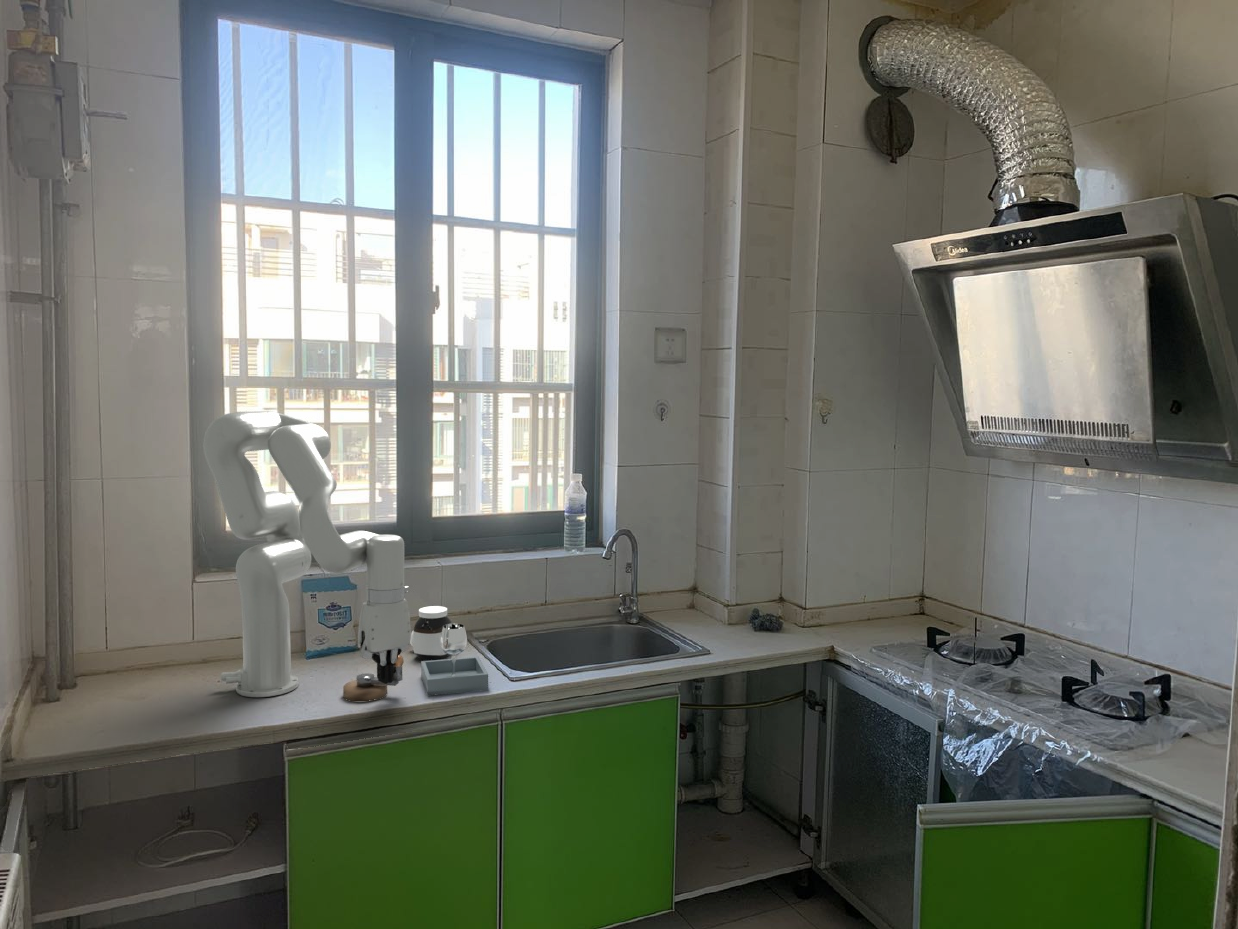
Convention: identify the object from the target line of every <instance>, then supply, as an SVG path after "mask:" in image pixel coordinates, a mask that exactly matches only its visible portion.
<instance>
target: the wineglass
mask: <svg viewBox="0 0 1238 929" xmlns="http://www.w3.org/2000/svg"><path fill="white" fill-rule="evenodd" d="M467 642H468V638H467V632H466V628H465V625H464V624H463V623H452V624H447V625H444V626H443V629H442V633H441V639H440V643H441V648H442V650H443V651H444V652H445V653H447V654H449V655H451V658H450V659H451V660H452V664H453V673H452V675H451V676H458V675H456V674H455V662H456V658H457V657H456V655H459V654H461V653H462V652H464V651H465V649H466V648H467ZM447 677H450V676H447Z"/></svg>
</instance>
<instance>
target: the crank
mask: <svg viewBox="0 0 1238 929" xmlns="http://www.w3.org/2000/svg"><path fill="white" fill-rule="evenodd" d="M404 661H405V660H404V657H403V656H402V655H401V654H400V655H399V656H398V657H397V660H396V662H395V663H394V676H393V682H392V683H388V684H384V683H382V682H380V681H379V680H378V678H377V676H375V675H374V674H372V673H370V672H368V673H361V674H358V675H356V680H357V686H358V687H370V686H373V685H387V686H391V687H392V686H393V687H395V686H397V685H398V684H399V682H401V681H403V665H404Z"/></svg>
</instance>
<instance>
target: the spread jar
mask: <svg viewBox="0 0 1238 929" xmlns="http://www.w3.org/2000/svg"><path fill="white" fill-rule="evenodd" d="M418 616H419V617H418V618H417V619H416V621H415V624H414V626H413V630H412V631H411V639H410V643H409V645H410V646H412V648H413V649H412V650H413V653H414V655H415V656H416V657H417V658H418V659H421V660H423V661H432V660H444V659H446V658H447V657H448V656H449V655H450V654H447V653H445V652H444V651H443V650H442V648H441V643H440V639H441V633H442V629H443V626H444V625H447V624H453V622H452V620H451V618H450V617H449V616H448V607H445V606H441V605H433V606H432V605H430V606H425V607H421V608H419V609H418Z"/></svg>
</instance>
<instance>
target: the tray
mask: <svg viewBox="0 0 1238 929" xmlns="http://www.w3.org/2000/svg"><path fill="white" fill-rule="evenodd" d="M420 665H421V666H420V668H421V669H420V672H421V675H420V676H421V680H422V683H423V687H424V689H425V692H426V695H431V696H436V695H435V694H441V695H446V694H445V693H451V694H461V693H468V692H469V693H470V692H481V691H480V690H482V691H488V690H489V673H488V671H487V669H486V668H485V665H484V664H483V662H482V660H481V659H480V656H469V657H458V658H457V657H456V662H455V674H456V675H458V676H451V675H452V673H453V664H452V660H451V658H447V659H446V658H444V659H440V660H423V661H422V660H421V661H420ZM447 676H450V677H447Z"/></svg>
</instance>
